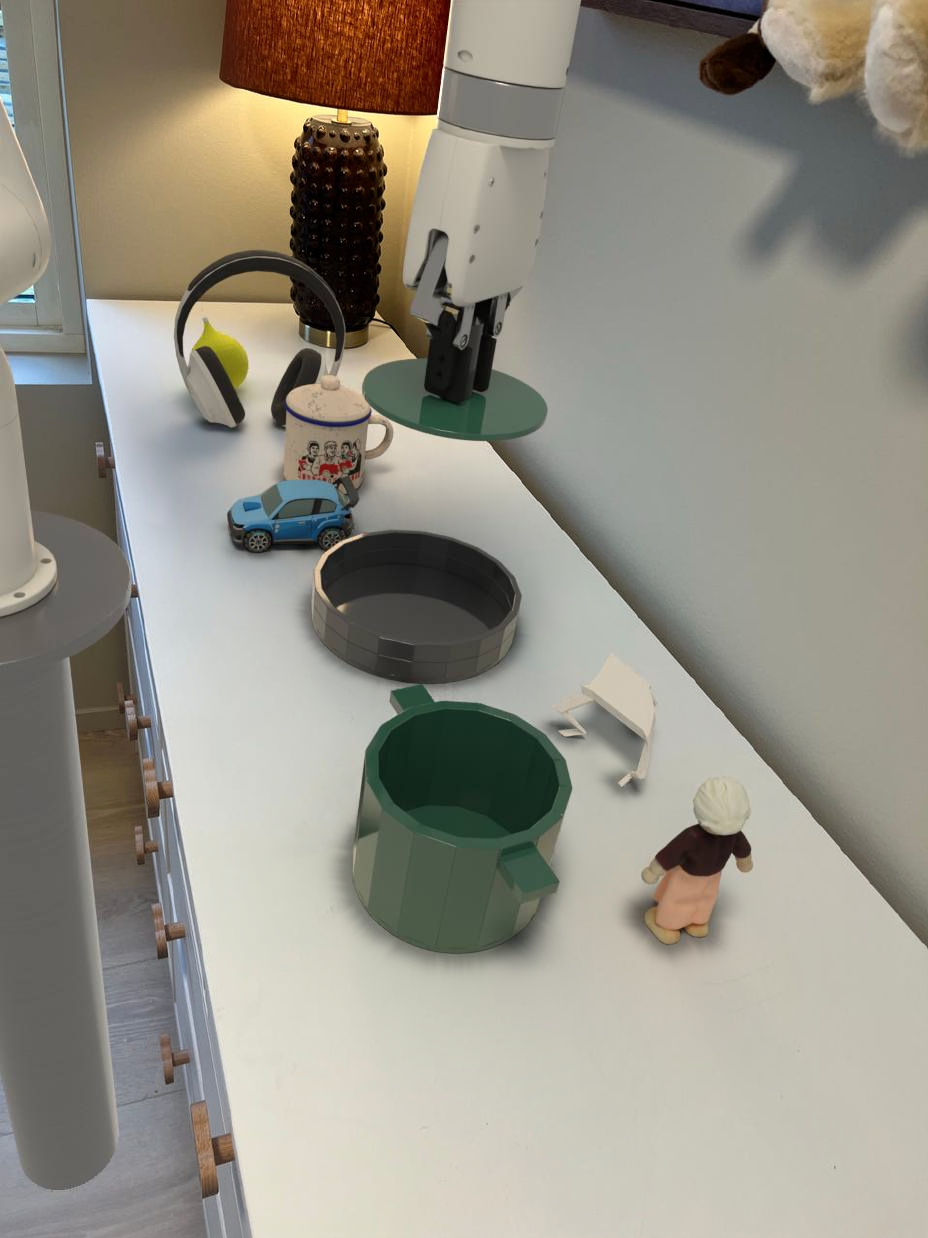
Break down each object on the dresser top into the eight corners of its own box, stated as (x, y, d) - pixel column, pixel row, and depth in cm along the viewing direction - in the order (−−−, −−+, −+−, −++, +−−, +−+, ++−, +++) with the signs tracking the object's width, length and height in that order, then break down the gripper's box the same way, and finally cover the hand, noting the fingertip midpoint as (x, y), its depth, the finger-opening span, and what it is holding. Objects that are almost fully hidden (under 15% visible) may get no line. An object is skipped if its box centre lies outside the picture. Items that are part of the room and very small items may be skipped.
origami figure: (529, 705, 80) (540, 658, 77) (614, 690, 84) (628, 644, 81) (602, 809, 71) (618, 760, 69) (694, 787, 75) (713, 740, 72)
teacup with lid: (291, 500, 102) (296, 395, 96) (273, 460, 109) (277, 360, 102) (399, 495, 107) (412, 395, 100) (376, 457, 113) (386, 361, 107)
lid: (407, 456, 64) (419, 359, 60) (333, 374, 73) (340, 286, 69) (579, 442, 70) (600, 353, 66) (491, 368, 79) (505, 287, 75)
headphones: (180, 439, 110) (176, 258, 98) (171, 408, 116) (167, 234, 105) (345, 437, 117) (360, 267, 105) (329, 408, 123) (341, 245, 112)
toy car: (225, 524, 96) (225, 472, 93) (343, 520, 100) (348, 471, 97) (232, 555, 92) (233, 502, 89) (356, 550, 96) (361, 499, 93)
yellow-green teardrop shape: (186, 379, 124) (185, 300, 118) (242, 379, 126) (244, 302, 121) (193, 402, 118) (192, 321, 113) (252, 401, 121) (254, 322, 115)
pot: (419, 1019, 55) (441, 912, 50) (310, 801, 68) (319, 696, 63) (599, 951, 61) (637, 848, 56) (468, 761, 74) (489, 662, 68)
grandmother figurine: (696, 885, 67) (754, 749, 60) (733, 928, 64) (798, 791, 57) (606, 919, 63) (657, 779, 56) (641, 967, 61) (699, 826, 53)
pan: (358, 702, 77) (362, 662, 75) (283, 579, 90) (285, 542, 88) (550, 661, 86) (559, 625, 83) (457, 554, 98) (462, 520, 96)
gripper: (513, 95, 67) (472, 351, 78) (371, 99, 56) (345, 401, 66) (608, 119, 65) (553, 381, 75) (481, 129, 53) (435, 439, 63)
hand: (456, 388), depth 70 cm, fingers closed on lid, 2 cm apart
